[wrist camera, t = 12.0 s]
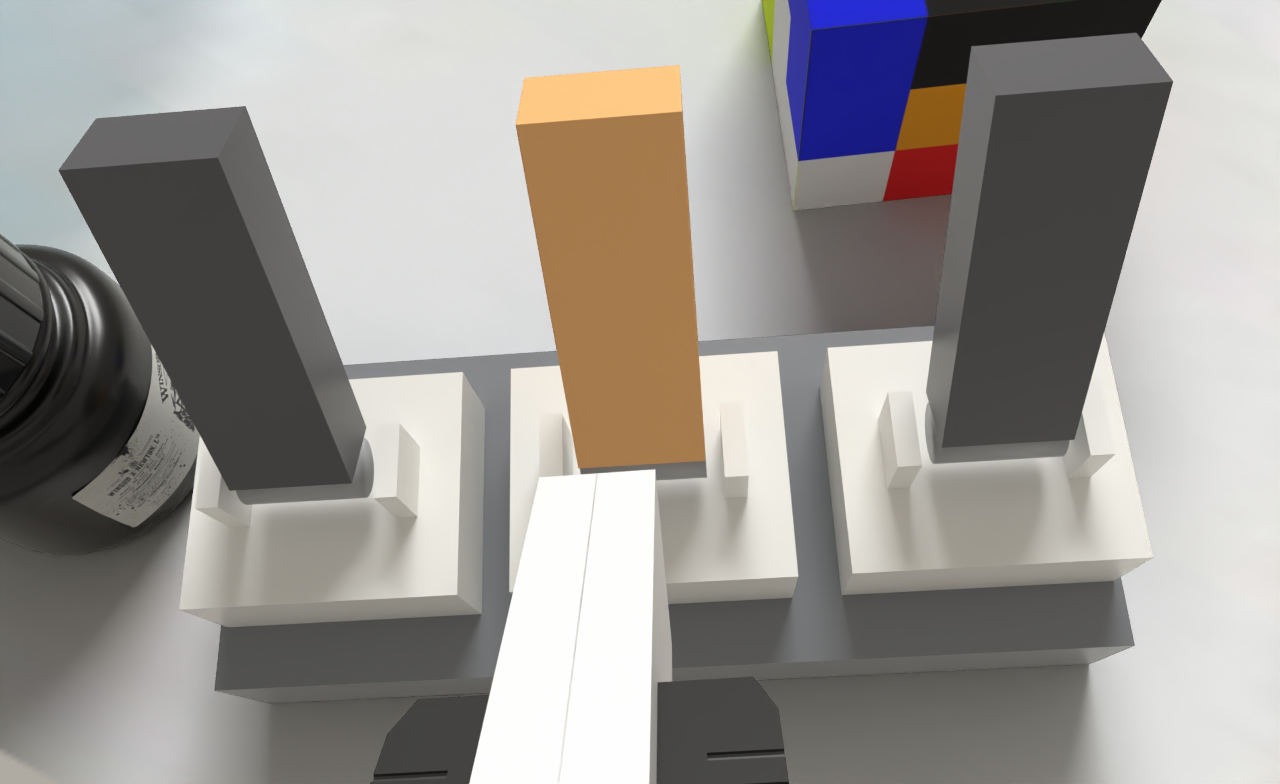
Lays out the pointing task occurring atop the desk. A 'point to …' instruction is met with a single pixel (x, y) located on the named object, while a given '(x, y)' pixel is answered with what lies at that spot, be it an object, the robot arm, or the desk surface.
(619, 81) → the lever
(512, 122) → the desk surface
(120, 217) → the block
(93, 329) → the ink bottle
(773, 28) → the puzzle toy
